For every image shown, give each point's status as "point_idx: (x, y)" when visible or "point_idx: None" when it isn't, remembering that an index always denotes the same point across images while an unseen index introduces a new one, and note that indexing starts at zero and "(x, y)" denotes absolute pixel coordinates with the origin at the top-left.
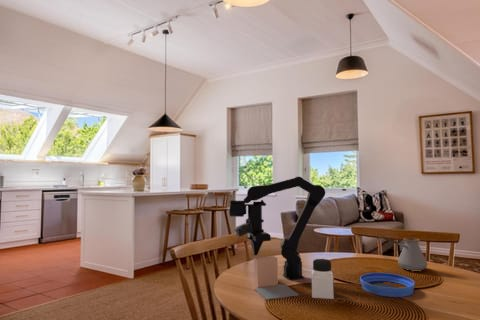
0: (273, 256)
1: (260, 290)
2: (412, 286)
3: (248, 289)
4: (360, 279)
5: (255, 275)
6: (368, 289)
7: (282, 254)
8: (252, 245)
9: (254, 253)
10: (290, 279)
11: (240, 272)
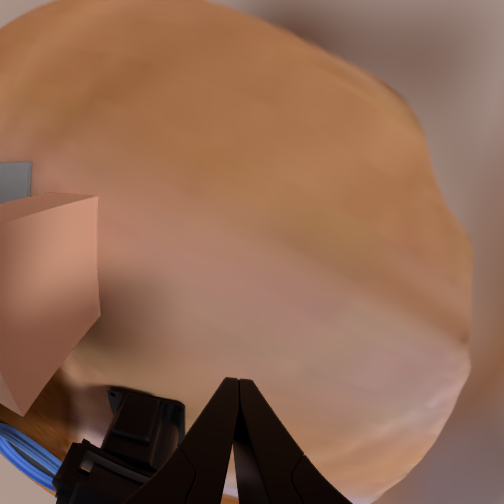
0: (4, 402)
1: (5, 180)
2: (6, 456)
3: (46, 132)
4: (30, 455)
5: (40, 202)
6: (11, 431)
7: (89, 476)
8: (262, 481)
9: (217, 390)
10: (109, 388)
11: (374, 234)
